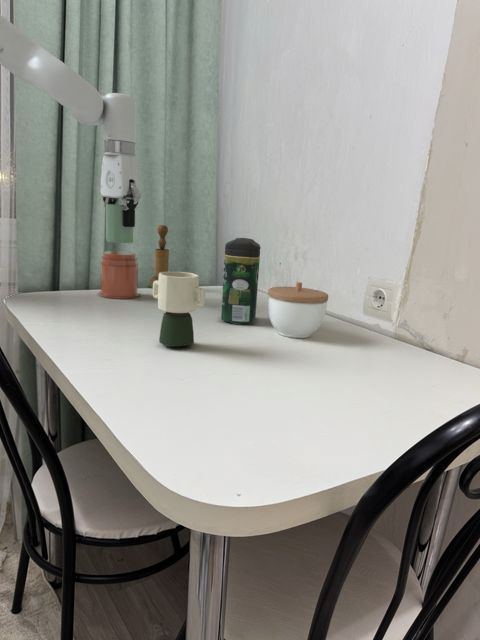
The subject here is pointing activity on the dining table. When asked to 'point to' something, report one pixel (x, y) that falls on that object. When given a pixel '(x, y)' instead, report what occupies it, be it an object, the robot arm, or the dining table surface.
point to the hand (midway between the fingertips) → (120, 224)
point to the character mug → (178, 306)
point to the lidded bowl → (296, 310)
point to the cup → (117, 225)
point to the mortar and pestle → (161, 255)
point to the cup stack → (119, 275)
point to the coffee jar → (240, 281)
